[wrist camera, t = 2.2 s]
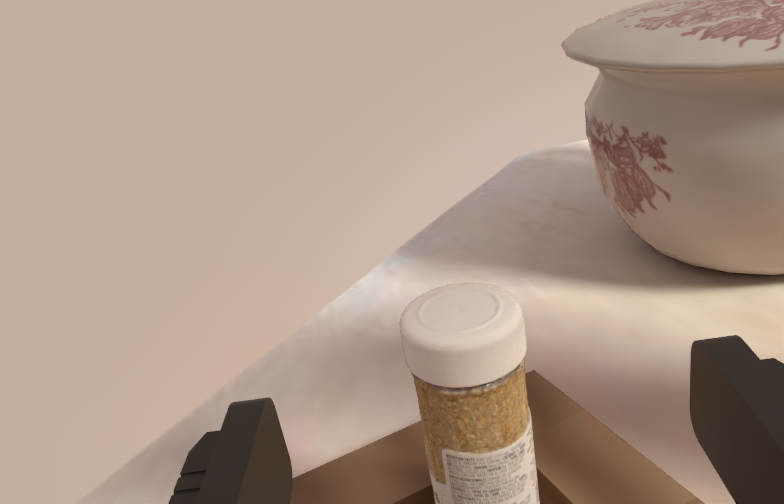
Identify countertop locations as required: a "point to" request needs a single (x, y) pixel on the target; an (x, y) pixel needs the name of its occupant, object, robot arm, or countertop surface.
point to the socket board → (552, 456)
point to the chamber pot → (692, 127)
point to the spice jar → (472, 393)
